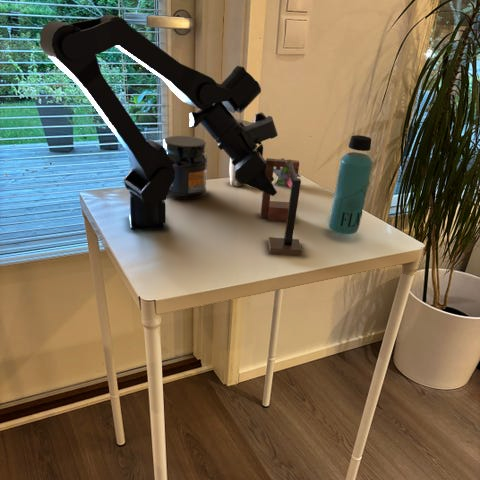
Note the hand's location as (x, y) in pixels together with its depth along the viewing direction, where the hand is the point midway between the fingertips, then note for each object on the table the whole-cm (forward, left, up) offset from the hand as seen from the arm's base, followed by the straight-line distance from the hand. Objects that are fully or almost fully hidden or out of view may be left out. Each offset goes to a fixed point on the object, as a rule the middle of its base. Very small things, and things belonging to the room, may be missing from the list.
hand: (273, 187), depth 108 cm
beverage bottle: (+13, -10, -7) cm, 18 cm away
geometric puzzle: (+10, +21, -7) cm, 24 cm away
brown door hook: (+1, 0, -7) cm, 7 cm away
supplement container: (-17, +15, -7) cm, 24 cm away
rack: (0, -10, -7) cm, 12 cm away
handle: (-3, +21, -7) cm, 22 cm away
